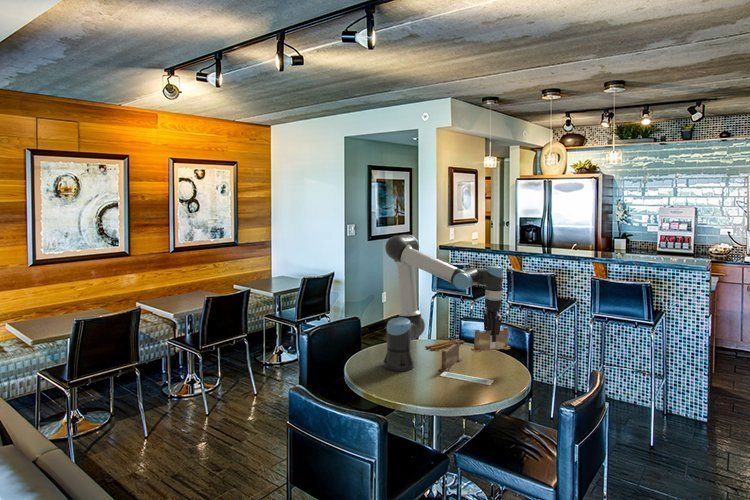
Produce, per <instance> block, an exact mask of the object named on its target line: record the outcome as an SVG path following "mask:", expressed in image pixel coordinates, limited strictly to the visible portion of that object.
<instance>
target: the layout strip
mask: <svg viewBox="0 0 750 500" xmlns="http://www.w3.org/2000/svg"><path fill="white" fill-rule="evenodd" d="M439 377H443V378H448V379H453V380H460V381H464V382H470V383H475V384H481V385H486V386H491V385H492V384H493V383H494V379H487V378H483V377H476V376H471V375H466V374H461V373H455V372H450V371H448V372H442V373H440V374H439Z"/></svg>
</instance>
